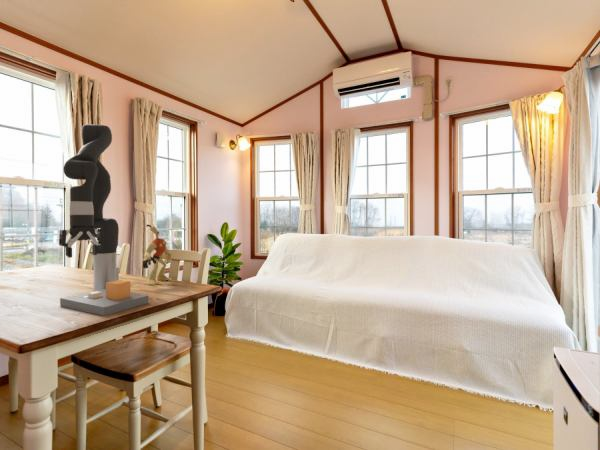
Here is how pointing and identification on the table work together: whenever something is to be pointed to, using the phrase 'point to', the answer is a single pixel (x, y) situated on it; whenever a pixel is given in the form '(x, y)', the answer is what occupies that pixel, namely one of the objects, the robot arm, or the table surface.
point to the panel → (102, 303)
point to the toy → (156, 258)
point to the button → (95, 295)
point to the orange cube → (118, 289)
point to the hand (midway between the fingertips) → (82, 256)
